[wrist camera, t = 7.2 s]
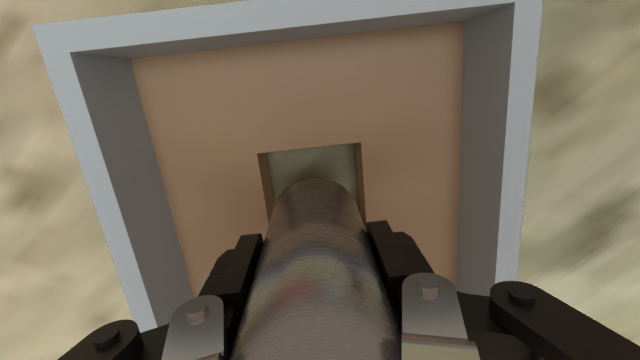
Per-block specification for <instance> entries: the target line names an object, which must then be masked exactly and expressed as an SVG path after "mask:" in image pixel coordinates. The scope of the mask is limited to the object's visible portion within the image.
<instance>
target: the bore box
mask: <svg viewBox="0 0 640 360" xmlns="http://www.w3.org/2000/svg"><path fill="white" fill-rule="evenodd" d="M542 8H543V0H247V1H239V2H230V3H221V4H212V5H203V6H194V7H186V8H177V9H168V10H159V11H150V12H142V13H133V14H124V15H115V16H106V17H98V18H89V19H80V20H71V21H62V22H54V23H45V24H36V25H32V28H33V31H34V34H35V37H36V40H37V43H38V46H39V48H40V51H41V54H42V57H43V60H44V63H45V66H46V69H47V72H48V74H49V77H50V80H51V83H52V86H53V89H54V92H55V95H56V98H57V100H58V103H59V106H60V109H61V112H62V115H63V118H64V121H65V124H66V126H67V129H68V132H69V135H70V138H71V141H72V144H73V147H74V149H75V152H76V155H77V158H78V161H79V164H80V167H81V170H82V173H83V175H84V178H85V181H86V184H87V187H88V190H89V193H90V196H91V199H92V201H93V204H94V207H95V210H96V213H97V216H98V219H99V222H100V225H101V227H102V230H103V233H104V236H105V239H106V242H107V245H108V248H109V251H110V253H111V256H112V259H113V262H114V265H115V268H116V271H117V274H118V277H119V279H120V282H121V285H122V288H123V291H124V294H125V297H126V300H127V303H128V305H129V308H130V311H131V314H132V317H133V320H134V322H136V323H137V325H138V328H139V331H140V333H142V332H145V331H148V330H151V329H154V328H157V327H160V326H163V325H166V324H169V323H170V319H171V316H172V314H173V313H174V311H175V310H176V309H177V308H178V307H179V306H181V305H182V304H183V303H185V302H186V301H188V300H190V299H193V298H195V297H198V295H199V293H200V291H201V289H202V287H203V285H204V283H205V282H206V280H207V278H208V276H210V272H211V270H212V268H213V266H214V264H215V262H216V260H217V259H218V257H219V256H221V255H222V254H223V253H224V252H225V251H226V250H228V249H235V247H236V244H237V242H238V240H239V238H240V236H241V235H248V234H257V233H261V234H262V237H263V242H264V239H265V236H266V232H267V229H268V226H269V222H270V219H271V215H272V212H273V209H274V206H275V203H274V196H273V190H272V184H271V178H270V171H269V165H268V159H267V152H277V151H286V150H295V149H304V148H313V147H322V146H332V145H341V144H350V143H355V155H356V169H357V182H358V196H359V209H360V215H361V218H362V221H363V224H364V226H365V229H366V232H367V222H372V221H382V220H387V222H388V224H389V226H390V227H391V229H392V231H393V232H401V231H403V232H404V233H406V234H408V235H409V236H411V237H412V238H413V239H414V241H415V242H416V244H417V247H419V249H420V250H421V253H422V254H423V255H424V257H425V258H426V260H427V262H428V263H429V265H430V266H431V268H432V270H433V271H434V273H435V274H437V275H440V276H443V277H445V278H447V279H448V280H449V281H451V282H452V283H453V285H454V286H455V289H456V291H458V292H462V293H466V294H474V295H483V296H490V289H491V287H492V286H493V285H494V284H496V283H498V282H502V281H516V280H517V270H518V260H519V249H520V239H521V228H522V218H523V207H524V197H525V186H526V176H527V165H528V155H529V144H530V134H531V123H532V113H533V102H534V92H535V81H536V71H537V60H538V50H539V39H540V29H541V18H542Z"/></svg>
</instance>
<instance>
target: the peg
mask: <svg viewBox="0 0 640 360" xmlns="http://www.w3.org/2000/svg"><path fill="white" fill-rule="evenodd" d="M229 360H402V331H401V328H400V325H399V323H398V320H397V317H396V314H395V311H394V308H393V306H392V303H391V300H390V297H389V294H388V292H387V289H386V286H385V283H384V280H383V277H382V275H381V272H380V269H379V266H378V263H377V260H376V258H375V255H374V252H373V249H372V246H371V243H370V241H369V238H368V235H367V232H366V229H365V226H364V224H363V221H362V218H361V215H360V212H359V209H358V207H357V204H356V202H355V200H354V198H353V197H352V195H351V194H350V193H349V192H348V191H347V190H346V189H345V188H344V187H342V186H341V185H339V184H337V183H335V182H333V181H330V180H326V179H319V178H313V179H306V180H302V181H299V182H297V183H295V184H293V185H291V186H290V187H288V188H287V189H286V190H285V191H284V192H283V193H282V194H281V195H280V196H279V198H278V199H277V201H276V203H275V206H274V209H273V212H272V215H271V219H270V222H269V226H268V229H267V232H266V236H265V239H264V243H263V246H262V250H261V253H260V256H259V260H258V263H257V267H256V270H255V273H254V277H253V280H252V284H251V287H250V291H249V294H248V297H247V301H246V304H245V308H244V311H243V314H242V318H241V321H240V325H239V328H238V332H237V335H236V338H235V342H234V345H233V349H232V352H231V355H230V359H229Z"/></svg>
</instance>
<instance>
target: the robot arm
mask: <svg viewBox="0 0 640 360" xmlns="http://www.w3.org/2000/svg"><path fill="white" fill-rule="evenodd" d="M367 235H368V238H369V241H370V243H371V246H372V249H373V252H374V255H375V258H376V260H377V263H378V266H379V269H380V272H381V275H382V277H383V280H384V283H385V286H386V289H387V292H388V294H389V297H390V300H391V303H392V306H393V308H394V311H395V314H396V317H397V320H398V323H399V325H400V328H401V331H402V360H640V346H638V345H636V344H635V343H633V342H631V341H630V340H628V339H626V338H624V337H623V336H621V335H619V334H618V333H616V332H614V331H612V330H611V329H609V328H607V327H605V326H604V325H602V324H600V323H599V322H597V321H595V320H593V319H592V318H590V317H588V316H586V315H585V314H583V313H581V312H580V311H578V310H576V309H574V308H573V307H571V306H569V305H568V304H566V303H564V302H562V301H561V300H559V299H557V298H555V297H554V296H552V295H550V294H549V293H547V292H545V291H543V290H542V289H540V288H538V287H536V286H533V285H531V284H528V283H524V282H519V281H502V282H498V283H496V284H494V285H493V286H492V287H491V289H490V296H483V295H474V294H466V293H462V292H458V291H456V289H455V286H454V285H453V283H452V282H451V281H449V280H448V279H447V278H445V277H443V276H440V275H437V274H435V273H434V271H433V270H432V268H431V266H430V265H429V263H428V262H427V260H426V258H425V257H424V255H423V254H422V253H421V250H420V249H419V247H417V244H416V242H415V241H414V239H413V238H412V237H411V236H409V235H408V234H406V233H404V232H403V231H401V232H393V231H392V229H391V227H390V226H389V224H388V222H387V220H382V221H372V222H367ZM263 243H264V242H263V237H262V234H261V233H257V234H248V235H241V236H240V238H239V240H238V242H237V244H236V247H235V249H228V250H226V251H225V252H224V253H223V254H222V255H221V256H219V257H218V259H217V260H216V262H215V264H214V266H213V268H212V270H211V272H210V276H208V278H207V280H206V282H205V283H204V285H203V287H202V289H201V291H200V293H199V295H198V297H195V298H193V299H190V300H188V301H186V302H185V303H183V304H182V305H181V306H179V307H178V308H177V309H176V310H175V311H174V313H173V314H172V316H171V319H170V323H169V324H166V325H163V326H160V327H157V328H154V329H151V330H148V331H145V332H142V333H140V331H139V328H138V325H137V323H136V322H134V321H132V320H119V321H115V322H112V323H109V324H106V325H104V326H102V327H100V328H98V329H97V330H95V331H93V332H92V333H91V334H89V335H88V336H87V337H85V338H84V339H83V340H82V341H80V342H79V343H78V344H77V345H75V346H74V347H73V348H72V349H70V350H69V351H68V352H67V353H65V354H64V355H63V356H62V357H60V358H59V359H58V360H229V359H230V355H231V352H232V349H233V345H234V342H235V338H236V335H237V332H238V328H239V325H240V321H241V318H242V314H243V311H244V308H245V304H246V301H247V297H248V294H249V291H250V287H251V284H252V280H253V277H254V273H255V270H256V267H257V263H258V260H259V256H260V253H261V250H262V246H263Z"/></svg>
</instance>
